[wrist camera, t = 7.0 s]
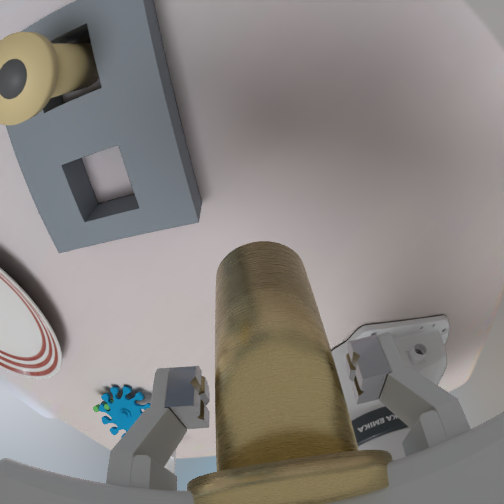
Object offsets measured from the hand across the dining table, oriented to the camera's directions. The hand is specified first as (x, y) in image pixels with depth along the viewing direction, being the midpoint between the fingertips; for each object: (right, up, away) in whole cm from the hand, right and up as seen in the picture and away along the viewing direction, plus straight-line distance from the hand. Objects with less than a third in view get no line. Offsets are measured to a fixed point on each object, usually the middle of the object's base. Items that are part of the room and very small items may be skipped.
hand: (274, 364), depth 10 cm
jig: (-14, +15, +12) cm, 24 cm away
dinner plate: (-39, -4, +24) cm, 46 cm away
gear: (-22, -20, +36) cm, 47 cm away
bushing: (0, +3, +4) cm, 5 cm away
